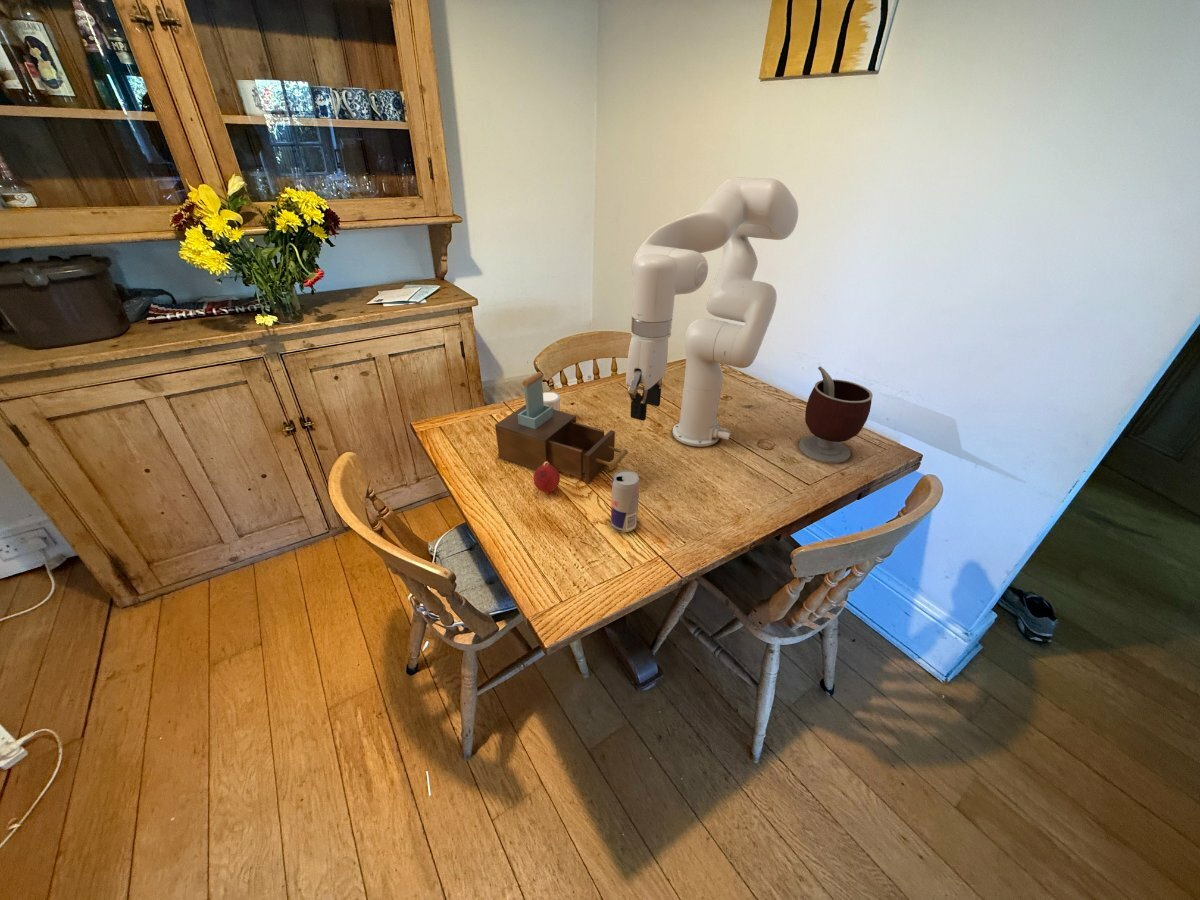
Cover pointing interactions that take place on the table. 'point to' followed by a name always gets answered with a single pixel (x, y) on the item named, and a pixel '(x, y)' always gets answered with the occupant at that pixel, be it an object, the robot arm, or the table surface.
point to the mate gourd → (834, 418)
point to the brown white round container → (552, 400)
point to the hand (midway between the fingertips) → (645, 410)
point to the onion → (546, 477)
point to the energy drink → (625, 500)
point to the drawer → (583, 451)
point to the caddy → (534, 403)
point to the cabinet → (528, 438)
